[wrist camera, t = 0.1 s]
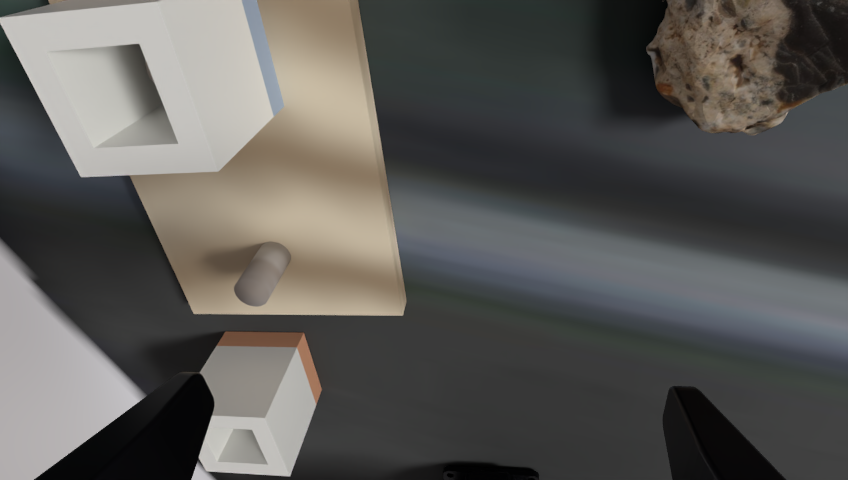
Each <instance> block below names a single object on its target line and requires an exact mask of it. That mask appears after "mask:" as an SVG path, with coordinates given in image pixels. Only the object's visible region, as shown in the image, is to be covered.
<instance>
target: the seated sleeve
mask: <svg viewBox="0 0 848 480" xmlns="http://www.w3.org/2000/svg"><path fill="white" fill-rule="evenodd" d="M0 24H1V26H2V27H3V29H4V31H5V33H6V35H7V37H8V39H9V41H10V43H11V45H12V47H13V49H14V50H15V52H16V54H17V56H18V58H19V60H20V62H21V64H22V66H23V68H24V70H25V71H26V73H27V75H28V77H29V79H30V81H31V83H32V85H33V87H34V89H35V91H36V93H37V94H38V96H39V98H40V100H41V102H42V104H43V106H44V108H45V110H46V112H47V114H48V115H49V117H50V119H51V121H52V123H53V125H54V127H55V129H56V131H57V133H58V135H59V136H60V138H61V140H62V142H63V144H64V146H65V148H66V150H67V152H68V154H69V156H70V158H71V159H72V161H73V163H74V165H75V167H76V169H77V171H78V173H79V175H80V177H99V176H123V175H147V174H172V173H196V172H219V171H220V170H221V169H222V168H223V167H224V166H225V165H226V164H227V163H228V162H229V161H230V160H231V159H232V158H233V157H234V156H235V155H236V154H237V153H238V152H239V151H240V150H241V149H242V148H243V147H244V146H245V145H246V144H247V143H248V142H249V141H250V140H251V139H252V138H253V137H254V136H255V135H256V134H257V133H258V132H259V131H260V130H261V129H262V128H263V127H264V126H265V125H266V124H267V123H268V122H269V121H270V120H271V119H272V118H273V117H274V116H275V115H276V114H277V113H278V112H279V111H280V110H281V109H282V108H283V107H284V103H283V99H282V95H281V91H280V88H279V84H278V80H277V76H276V72H275V68H274V65H273V61H272V57H271V53H270V49H269V45H268V41H267V38H266V34H265V30H264V26H263V22H262V18H261V15H260V11H259V7H258V3H257V0H65V1H62V2H58V3H54V4H50V5H46V6H42V7H38V8H34V9H30V10H27V11H23V12H19V13H15V14H11V15H7V16H3V17H0ZM146 62H147V65H148V67H149V70H150V72H151V75H152V77H153V80H154V82H153V81H152V79H151V78H150V76H149V74H148V72H147V69H146Z"/></svg>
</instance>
